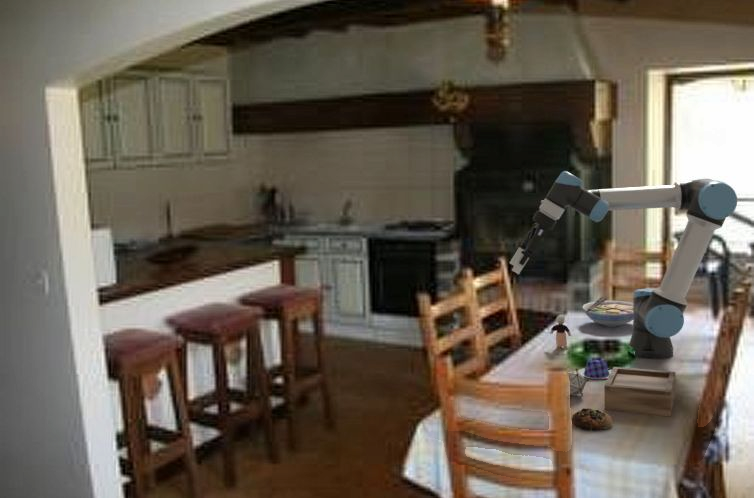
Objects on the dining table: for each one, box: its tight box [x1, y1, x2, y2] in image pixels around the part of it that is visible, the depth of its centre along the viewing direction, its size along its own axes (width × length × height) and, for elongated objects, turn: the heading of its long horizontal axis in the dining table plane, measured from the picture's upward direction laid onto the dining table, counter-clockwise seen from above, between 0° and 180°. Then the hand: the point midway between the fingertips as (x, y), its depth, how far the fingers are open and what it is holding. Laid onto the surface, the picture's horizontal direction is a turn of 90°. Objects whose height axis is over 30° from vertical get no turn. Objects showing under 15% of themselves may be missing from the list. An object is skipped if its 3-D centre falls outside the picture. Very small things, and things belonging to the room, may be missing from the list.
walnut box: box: [603, 366, 676, 417], centre depth 229 cm, size 18×18×7 cm
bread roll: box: [571, 407, 613, 432], centre depth 215 cm, size 11×11×5 cm
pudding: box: [577, 357, 612, 380], centre depth 255 cm, size 12×12×5 cm
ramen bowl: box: [582, 296, 633, 327], centre depth 313 cm, size 25×23×8 cm
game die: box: [567, 368, 590, 396], centre depth 237 cm, size 9×8×10 cm
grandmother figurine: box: [550, 314, 572, 351], centre depth 285 cm, size 8×4×13 cm, turn 71°
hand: (513, 268), depth 261 cm, fingers open, 13 cm apart
